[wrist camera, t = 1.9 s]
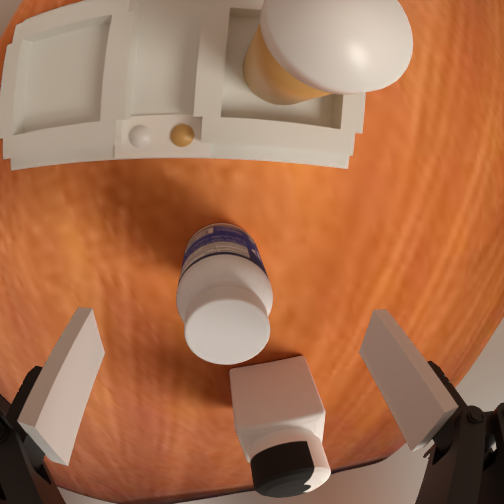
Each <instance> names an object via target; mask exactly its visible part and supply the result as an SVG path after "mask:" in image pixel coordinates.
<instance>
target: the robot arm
mask: <svg viewBox="0 0 504 504" xmlns="http://www.w3.org/2000/svg"><path fill="white" fill-rule="evenodd" d="M359 353H360V355H361V357H362V359H363V360H364V362H365V364H366V366H367V368H368V369H369V371H370V373H371V375H372V377H373V379H374V380H375V382H376V384H377V386H378V388H379V390H380V392H381V393H382V395H383V397H384V399H385V401H386V403H387V405H388V407H389V409H390V410H391V412H392V414H393V416H394V418H395V420H396V422H397V424H398V426H399V428H400V430H401V432H402V434H403V436H404V438H405V440H406V442H407V444H408V446H409V448H410V450H411V451H415V450H417V449H420V448H422V447H425V446H426V445H427V444H428V443H429V442H430V441H431V440H432V439H433V440H434V442H435V443H434V445H433V446H432V447H431V448H430V449H429V450H428V451H427V452H426V453H425V454H424V456H423V457H424V458H425V457H426V456H427V455H428V454H429V453H430V457H429V458H428V459H429V461H428V464H427V468H426V471H425V475H424V479H423V482H422V485H421V488H420V491H419V494H418V497H417V500H416V503H415V504H504V403H501V404H500V405H498V407H497V408H496V409H495V410H494V411H490V412H483V411H482V410H481V409H480V408H478V407H476V406H467V405H466V403H465V402H464V401H463V399H462V398H461V396H460V395H459V394H458V392H457V391H456V389H455V388H454V386H453V385H452V384H451V383H450V381H449V380H448V378H447V377H445V374H444V373H443V371H442V370H441V369H440V367H438V366H437V365H436V364H434V363H433V362H432V361H428V362H427V361H426V360H425V359H424V357H423V356H422V355H421V353H420V352H419V350H418V349H417V348H416V347H415V345H414V344H413V343H412V341H411V340H410V339H409V337H408V336H407V335H406V333H405V332H404V331H403V330H402V328H401V327H400V326H399V325H398V323H397V322H396V321H395V319H394V318H393V317H392V316H391V314H390V313H389V312H388V311H387V309H382V310H373V314H372V317H371V320H370V323H369V326H368V328H367V331H366V334H365V337H364V340H363V343H362V345H361V348H360V351H359ZM104 355H105V352H104V348H103V345H102V342H101V338H100V335H99V331H98V328H97V324H96V320H95V316H94V312H93V308H81V307H78V309H77V310H76V312H75V313H74V315H73V317H72V318H71V320H70V321H69V323H68V325H67V326H66V328H65V330H64V331H63V333H62V335H61V336H60V338H59V340H58V342H57V343H56V345H55V347H54V349H53V350H52V352H51V354H50V356H49V358H48V359H47V361H46V363H45V365H44V367H39V366H35V367H34V368H33V369H32V370H31V371H30V372H28V374H27V375H26V377H25V379H24V381H23V385H21V387H20V388H19V392H17V394H16V396H15V398H14V400H13V402H12V404H11V405H10V404H9V403H8V402H7V401H6V400H5V399H4V398H3V397H2V396H1V395H0V504H66V503H65V501H64V500H63V498H62V496H61V494H60V492H59V490H58V488H57V486H56V484H55V482H54V480H53V478H52V476H51V474H50V472H49V470H48V468H47V465H46V464H45V462H44V461H43V459H44V456H45V455H46V456H47V457H48V458H49V459H50V460H51V461H53V462H56V463H59V464H63V465H66V466H68V464H69V461H70V457H71V453H72V450H73V446H74V442H75V439H76V436H77V432H78V429H79V426H80V422H81V419H82V416H83V413H84V410H85V407H86V404H87V401H88V398H89V395H90V392H91V389H92V387H93V384H94V381H95V378H96V376H97V373H98V370H99V368H100V365H101V362H102V360H103V357H104ZM495 443H496V448H497V449H496V450H495V451H493V450H492V446H493V445H494V444H495Z"/></svg>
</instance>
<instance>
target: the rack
mask: <svg viewBox="0 0 504 504" xmlns="http://www.w3.org/2000/svg"><path fill="white" fill-rule="evenodd" d="M412 50H413V38H412V32H411V27H410V24H409V21H408V18H407V16H406V14H405V12H404V10H403V8H402V7H401V5H400V3H399V2H398V1H397V0H84V1H80V2H76V3H73V4H69V5H66V6H63V7H59V8H56V9H53V10H50V11H47V12H44V13H42V14H39V15H36V16H33V17H31V18H28V19H26V20H24V22H22V23H20V24H17V25H16V28H15V32H14V36H13V41H12V43H11V44H9V45H7V49H6V54H5V60H4V67H3V74H2V82H1V91H0V139H2V138H3V159H9V158H11V171H12V170H18V169H25V168H32V167H40V166H48V165H57V164H66V163H77V162H89V161H102V160H120V159H144V158H217V159H243V160H261V161H275V162H288V163H299V164H310V165H319V166H328V167H336V168H344V169H348V163H349V155H351V156H353V149H354V139H355V133H362V131H363V120H364V108H365V94H366V92H369V91H374V90H378V89H382V88H384V87H387V86H389V85H391V84H392V83H394V82H395V81H396V80H398V79H399V78H400V77H401V76H402V74H403V73H404V72H405V70H406V69H407V67H408V65H409V62H410V59H411V56H412Z"/></svg>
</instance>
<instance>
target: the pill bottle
mask: <svg viewBox="0 0 504 504" xmlns="http://www.w3.org/2000/svg"><path fill="white" fill-rule="evenodd" d="M176 303H177V309H178V312H179V315H180V317H181V319H182V321H183V322H184V323H185V325H184V335H185V339H186V342H187V344H188V346H189V348H190V349H191V350H192V351H193V352H194V353H195V354H196V355H197V356H199V357H200V358H202V359H204V360H206V361H208V362H211V363H215V364H225V365H229V364H237V363H241V362H244V361H247V360H249V359H251V358H253V357H254V356H256V355H257V354H258V353H259V352H260V351H261V350H262V349H263V348H264V347H265V345H266V344H267V342H268V339H269V335H270V324H269V319H268V316H269V313H270V311H271V308H272V303H273V293H272V288H271V284H270V281H269V279H268V276H267V273H266V271H265V268H264V266H263V263H262V260H261V257H260V254H259V252H258V249H257V246H256V244H255V242H254V240H253V239H252V237H251V236H250V235H249V234H248V233H247V232H246V231H244V230H243V229H242V228H240V227H238V226H235V225H232V224H227V223H216V224H211V225H208V226H206V227H204V228H202V229H200V230H199V231H197V232H196V233H195V234H194V235H193V236H192V238H191V239H190V240H189V242H188V244H187V247H186V250H185V253H184V260H183V264H182V270H181V274H180V278H179V283H178V289H177V296H176Z"/></svg>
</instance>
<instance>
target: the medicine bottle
mask: <svg viewBox="0 0 504 504" xmlns="http://www.w3.org/2000/svg"><path fill="white" fill-rule="evenodd" d="M229 374H230V385H231V395H232V405H233V415H234V424H235V430H236V433H237V436H238V439H239V441H240V444H241V447H242V449H243V452H244V454H245V457H246V460H247V462H249V463H250V464H251V471H252V477H253V484H254V489H255V491H257V492H258V493H259V494H261V495H264V496H269V497H276V498H282V497H291V496H296V495H300V494H304V493H307V492H309V491H312V490H314V489H315V488H317V487H319V486H320V485H322V484H323V483H324V482H326V481H327V479H328V478H329V476H330V474H331V470H330V467H329V464H328V461H327V458H326V455H325V452H324V449H323V446H322V438H323V430H324V421H325V409H324V406H323V404H322V401H321V398H320V396H319V393H318V390H317V388H316V385H315V382H314V380H313V377H312V375H311V372H310V369H309V367H308V364H307V361H306V359H305V357H304V356H297V357H293V358H288V359H283V360H278V361H273V362H267V363H262V364H256V365H250V366H244V367H238V368H232V369H230V372H229Z"/></svg>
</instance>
